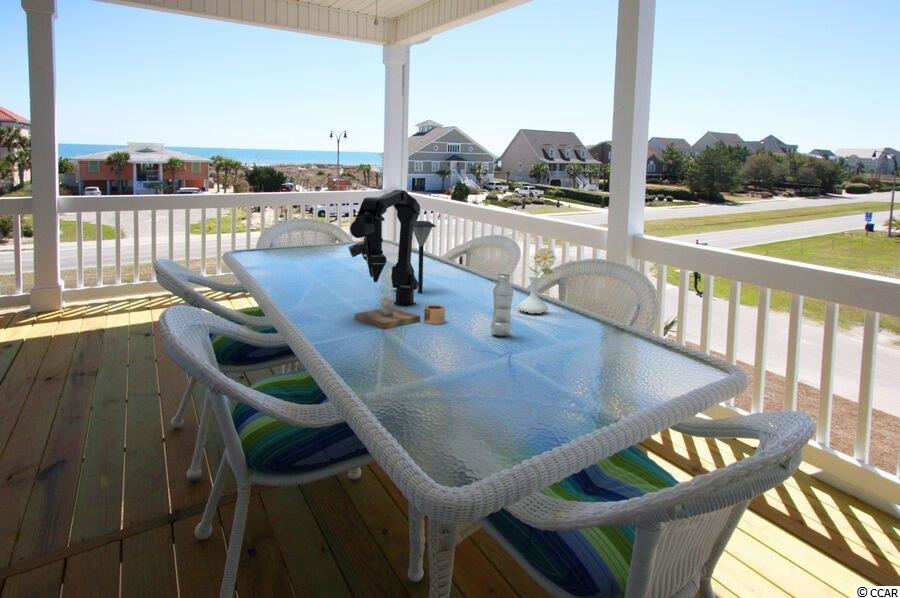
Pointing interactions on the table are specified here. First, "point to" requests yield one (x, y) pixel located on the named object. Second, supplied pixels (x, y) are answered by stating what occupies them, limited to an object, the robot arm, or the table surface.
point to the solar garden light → (421, 245)
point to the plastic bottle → (502, 306)
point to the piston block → (387, 316)
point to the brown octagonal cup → (434, 314)
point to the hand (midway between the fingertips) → (373, 279)
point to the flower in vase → (533, 302)
